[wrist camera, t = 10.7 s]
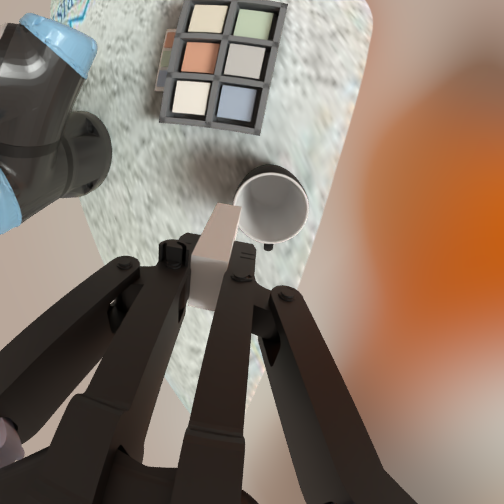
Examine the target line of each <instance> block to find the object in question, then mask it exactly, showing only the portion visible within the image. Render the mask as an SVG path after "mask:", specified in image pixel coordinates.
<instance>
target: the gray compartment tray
mask: <svg viewBox="0 0 504 504" xmlns="http://www.w3.org/2000/svg"><path fill="white" fill-rule="evenodd" d="M195 5H219V6H228V7H229V12H228V16H227V20H226V24H225V28H224V32H223V35H222V34H207V33H189V32H188V29H189V25H190V21H191V18H192V14H193V10H194V7H195ZM287 6H288V4H285V3H280V2H274V1H268V0H184V3H183V7H182V10H181V14H180V18H179V21H178V25H177V29H167V31H166V35H165V40H164V44H163V48H162V53H161V58H160V63H159V68H158V73H157V78H156V84H155V90H154V91H164V92H163V98H162V105H161V112H160V119H159V123H172V124H182V125H192V126H200V127H208V128H216V129H223V130H229V131H236V132H242V133H247V134H253V135H258V136H260V133H261V128H262V123H263V118H264V114H265V109H266V104H267V99H268V94H269V89H270V85H271V80H272V75H273V71H274V66H275V61H276V57H277V52H278V47H279V43H280V38H281V34H282V29H283V25H284V20H285V16H286V11H287ZM240 9H245V10H254V11H261V12H268V13H274V16H273V22H272V26H271V30H270V35H269V39H268V40H263V39H257V38H250V37H242V36H233V35H234V30H235V26H236V22H237V18H238V14H239V10H240ZM187 42H199V43H215V44H220V49H219V54H218V58H217V63H216V68H215V73H214V75H209V74H197V73H184V72H182V71H181V69H182V64H183V59H184V55H185V50H186V46H187ZM177 81H191V82H203V83H211V84H212V88H211V93H210V98H209V104H208V110H207V115H197V114H187V113H176V112H172V110H173V104H174V97H175V92H176V86H177ZM223 85H226V86H234V87H241V88H248V89H254V90H257V95H256V100H255V105H254V110H253V115H252V120H251V122H248V121H242V120H236V119H230V118H223V117H217V113H218V107H219V102H220V96H221V91H222V86H223Z"/></svg>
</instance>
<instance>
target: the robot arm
mask: <svg viewBox="0 0 504 504" xmlns="http://www.w3.org/2000/svg"><path fill="white" fill-rule="evenodd" d="M19 22H20V24H13V23H4V24H3V25H2V26H0V234H3V233H5V232H7V231H9V230H10V229H12V228H14V227H18V226H19V225H20V224H21V223H23V222H24V221H25V220H27V219H28V218H30V217H31V216H33V215H34V214H36V213H37V212H39V211H40V210H42V209H43V208H45V207H46V206H48V205H49V204H51V203H53V202H54V201H56V200H57V199H59V198H71V197H81V196H84V195H86V194H88V193H90V192H92V191H93V190H95V189H96V188H98V187H99V186H100V185H101V184H102V182H103V181H104V180H105V178H106V176H107V174H108V172H109V169H110V165H111V159H112V146H111V140H110V136H109V133H108V131H107V129H106V127H105V125H104V124H103V123H102V121H101V120H100V119H99V118H98V117H96V116H95V115H93V114H91V113H89V112H84V111H79V112H71V110H72V108H73V105H74V103H75V101H76V98H77V96H78V94H79V92H80V89H81V87H82V85H83V83H84V81H85V79H87V77H88V75H87V74H88V71H89V69H90V67H91V64H92V62H93V60H94V58H95V56H96V54H97V43H96V41H95V40H94V39H93V38H91V37H90V36H88V35H86V34H84V33H82V32H80V31H78V30H76V29H73V28H71V27H69V26H67V25H64V24H62V23H59V22H57V21H54V20H51V19H48V18H45V17H42V16H39V15H36V14H33V13H27V14H25V15H24V16H23V17H22V18H21V19H20V21H19ZM241 208H242V207H240V206H234V205H229V204H223V203H217V205H216V207H215V209H214V211H213V213H212V215H211V217H210V219H209V220H208V222H207V224H206V226H205V228H204V230H203V232H202V234H201V235H197V234H192V233H186V234H184V235H182V236H181V237H180V238H179V240H174V239H171V240H165V241H162V242H161V243H160V244H159V261H158V263H157V265H156V266H149V267H148V266H140V262H139V261H138V259H136V258H134V257H131V256H121V257H117V258H115V259H113V260H112V261H110V262H109V263H108V264H106V265H105V266H103V267H102V268H101V269H99V270H98V271H97V272H95V273H94V274H93V275H91V276H90V277H89V278H87V279H86V280H85V281H83V282H82V283H81V284H79V285H78V286H77V287H75V288H74V289H73V290H71V291H70V292H69V293H68V294H66V295H65V296H64V297H63V298H61V299H60V300H59V301H58V302H56V303H55V304H54V305H53V306H51V307H50V308H49V309H48V310H47V311H45V312H44V313H43V314H42V315H41V316H40V317H38V318H37V319H36V320H35V321H33V322H32V323H31V324H30V325H29V326H28V327H26V328H25V329H24V330H23V331H22V332H21V333H20V334H19V335H17V336H16V337H15V338H14V339H13V340H12V341H11V342H10V343H9V344H7V345H6V346H5V347H4V348H3V349H2V350H1V351H0V504H258V503H257V501H256V500H254V499H253V498H252V497H251V496H250V495H249V494H248V493H246V492H245V491H244V490H242V479H243V466H244V454H245V439H244V437H243V427H244V415H245V404H246V392H247V380H248V367H249V355H250V343H251V333H252V334H255V335H257V336H258V342H259V345H260V349H261V353H262V356H263V360H264V364H265V367H266V371H267V374H268V378H269V381H270V385H271V389H272V392H273V396H274V399H275V403H276V407H277V410H278V414H279V417H280V420H281V424H282V427H283V431H284V434H285V438H286V441H287V445H288V448H289V452H290V455H291V458H292V462H293V465H294V468H295V472H296V475H297V478H298V481H299V485H300V488H301V491H302V494H303V496H304V499H305V501H306V503H307V504H417V503H416V502H415V501H414V500H413V499H412V498H411V497H410V496H409V495H408V494H407V493H406V492H405V491H404V490H403V489H402V488H401V487H400V486H399V485H398V483H397V482H396V481H395V480H394V479H393V478H392V477H390V475H389V474H387V472H386V471H385V470H384V469H383V466H382V464H381V462H380V459H379V457H378V455H377V453H376V450H375V448H374V446H373V444H372V441H371V439H370V437H369V435H368V432H367V430H366V428H365V426H364V423H363V421H362V419H361V417H360V415H359V413H358V411H357V408H356V406H355V404H354V402H353V400H352V397H351V395H350V393H349V391H348V389H347V387H346V385H345V383H344V380H343V378H342V376H341V374H340V372H339V370H338V368H337V366H336V364H335V361H334V359H333V357H332V355H331V353H330V351H329V349H328V347H327V345H326V343H325V341H324V339H323V337H322V335H321V333H320V331H319V329H318V327H317V325H316V323H315V320H314V318H313V317H312V314H311V312H310V311H309V308H308V307H307V304H306V302H305V301H304V299H303V296H302V295H301V294H300V293H299V291H297V290H296V289H294V288H292V287H289V286H283V285H282V286H276V287H274V288H273V289H272V291H271V290H268V289H266V288H264V287H262V286H260V285H259V284H258V283H257V282H256V281H255V276H254V272H255V259H256V248H255V247H254V245H253V244H249V243H244V242H238V241H236V236H237V230H238V225H239V219H240V214H241ZM113 300H114V302H113V303H111V302H112V301H113ZM187 300H188V306H191V307H196V308H201V309H206V310H211V311H215V312H214V316H213V320H212V325H211V329H210V333H209V337H208V341H207V345H206V350H205V354H204V358H203V362H202V367H201V371H200V375H199V380H198V384H197V389H196V393H195V398H194V402H193V407H192V411H191V416H190V421H189V425H188V427H187V429H186V432H185V435H184V439H183V444H182V449H181V453H180V459H179V463H178V468H161V467H148V466H145V465H143V464H142V461H143V454H144V441H145V437H146V434H147V430H148V427H149V424H150V420H151V416H152V413H153V410H154V407H155V403H156V400H157V397H158V394H159V391H160V387H161V384H162V381H163V378H164V375H165V372H166V369H167V366H168V363H169V360H170V357H171V354H172V351H173V348H174V345H175V342H176V339H177V336H178V333H179V330H180V327H181V324H182V322H183V319H184V316H185V312H186V303H187ZM110 303H111V304H110ZM102 357H103V358H102ZM101 358H102V360H101V362H100V364H99V366H98V368H97V370H96V372H95V374H94V376H93V378H92V380H91V382H90V384H89V386H88V388H87V390H86V391H85V392H84V393H83V394H76V395H75V396H73V398H72V399H71V400H70V402H69V404H68V406H67V408H66V410H65V412H64V414H63V416H62V419H61V421H60V423H59V426H58V428H57V430H56V432H55V435H54V437H53V439H52V442H51V444H50V446H48V447H46V448H44V449H42V450H40V451H38V452H36V453H34V454H32V455H29V456H28V457H25V458H23V457H24V450H23V448H22V446H21V444H23V443H25V442H26V441H28V440H29V439H30V438H31V437H33V436H34V435H35V434H36V433H37V432H38V431H39V430H40V429H41V428H42V427H43V426H44V425H45V423H46V422H47V421H48V420H49V419H50V417H51V416H52V415H53V414H54V413H55V411H56V410H57V409H58V408H59V407H60V405H61V404H62V403H63V402H64V401H65V399H66V398H67V397H68V396H69V395H70V394H71V393H72V391H73V390H74V389H75V388H76V387H77V386H78V384H79V383H80V382H81V381H82V380H83V379H84V378H85V376H86V375H87V374H88V373H89V372H90V371H91V370H92V369H93V367H94V366H95V365H96V364H97V363H98V362H99V361H100V359H101ZM15 460H18V461H16V462H15Z"/></svg>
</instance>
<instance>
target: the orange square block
mask: <svg viewBox="0 0 504 504" xmlns="http://www.w3.org/2000/svg"><path fill="white" fill-rule="evenodd" d="M219 49H220V44H215V43H199V42H187V46H186V50H185V55H184V59H183V64H182V69H181V71H182V72H184V73H197V74H209V75H214V73H215V68H216V63H217V58H218V54H219Z"/></svg>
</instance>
